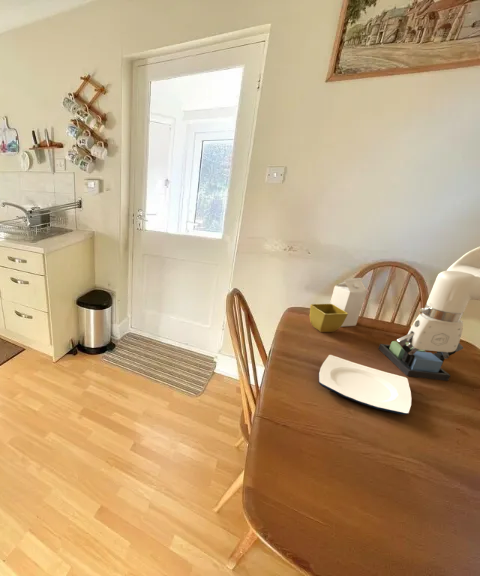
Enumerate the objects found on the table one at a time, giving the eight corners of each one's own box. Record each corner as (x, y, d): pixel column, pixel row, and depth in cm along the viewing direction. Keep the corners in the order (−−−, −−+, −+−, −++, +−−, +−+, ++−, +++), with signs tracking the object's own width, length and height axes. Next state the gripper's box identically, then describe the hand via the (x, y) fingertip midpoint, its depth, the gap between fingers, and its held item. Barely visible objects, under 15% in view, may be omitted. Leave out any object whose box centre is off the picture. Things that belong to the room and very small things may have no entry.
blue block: (426, 363, 98) (431, 352, 97) (438, 373, 94) (443, 361, 92) (401, 360, 100) (405, 350, 98) (411, 370, 95) (416, 359, 94)
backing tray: (413, 352, 106) (415, 347, 106) (448, 380, 92) (450, 375, 92) (378, 348, 109) (380, 343, 108) (406, 376, 95) (409, 370, 94)
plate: (408, 385, 91) (411, 377, 90) (409, 426, 77) (413, 418, 76) (324, 358, 104) (326, 352, 103) (312, 390, 90) (314, 382, 89)
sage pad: (411, 353, 105) (415, 343, 103) (421, 361, 100) (425, 351, 99) (388, 350, 106) (391, 340, 105) (397, 359, 102) (401, 348, 100)
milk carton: (325, 318, 130) (337, 276, 123) (341, 317, 131) (353, 275, 124) (339, 327, 123) (353, 282, 116) (356, 325, 124) (370, 281, 117)
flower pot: (342, 334, 118) (349, 313, 115) (319, 335, 118) (325, 314, 114) (326, 323, 126) (331, 303, 123) (304, 324, 126) (309, 304, 123)
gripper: (414, 316, 89) (393, 368, 95) (491, 322, 85) (464, 376, 91) (398, 305, 96) (380, 355, 102) (469, 310, 91) (445, 361, 98)
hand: (420, 364), depth 97 cm, fingers closed on blue block, 6 cm apart
